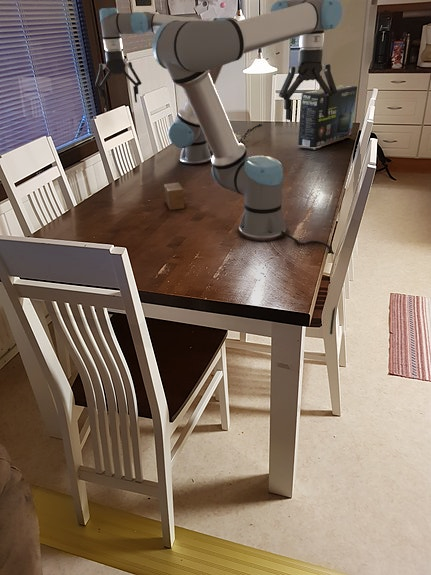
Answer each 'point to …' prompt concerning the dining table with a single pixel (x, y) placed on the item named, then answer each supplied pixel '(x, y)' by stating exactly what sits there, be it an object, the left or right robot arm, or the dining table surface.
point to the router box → (337, 121)
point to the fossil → (239, 136)
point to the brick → (174, 196)
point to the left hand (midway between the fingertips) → (120, 103)
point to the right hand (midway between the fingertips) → (306, 117)
